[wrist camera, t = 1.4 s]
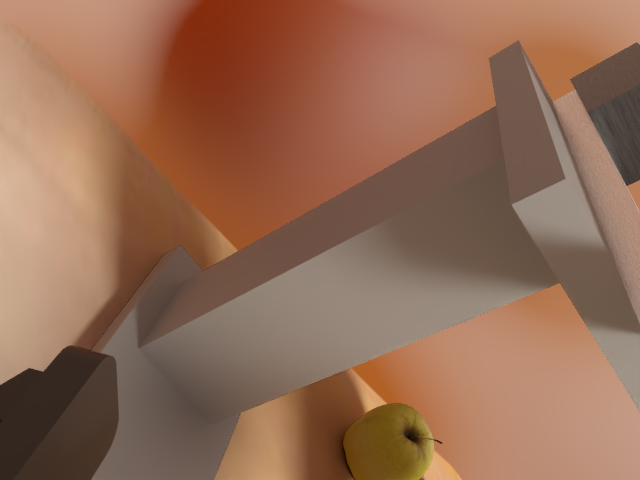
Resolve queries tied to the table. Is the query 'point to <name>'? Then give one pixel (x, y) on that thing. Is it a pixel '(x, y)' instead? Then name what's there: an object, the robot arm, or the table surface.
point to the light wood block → (609, 153)
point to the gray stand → (365, 283)
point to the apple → (389, 444)
